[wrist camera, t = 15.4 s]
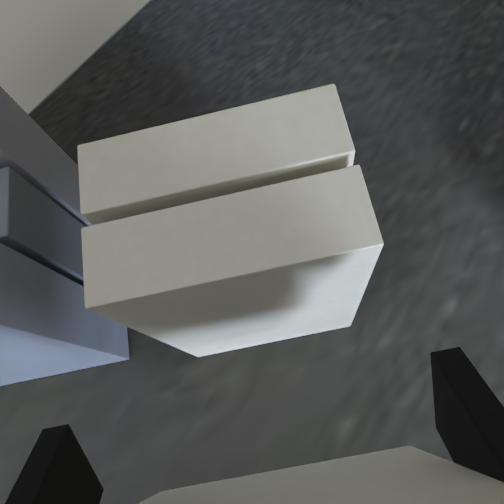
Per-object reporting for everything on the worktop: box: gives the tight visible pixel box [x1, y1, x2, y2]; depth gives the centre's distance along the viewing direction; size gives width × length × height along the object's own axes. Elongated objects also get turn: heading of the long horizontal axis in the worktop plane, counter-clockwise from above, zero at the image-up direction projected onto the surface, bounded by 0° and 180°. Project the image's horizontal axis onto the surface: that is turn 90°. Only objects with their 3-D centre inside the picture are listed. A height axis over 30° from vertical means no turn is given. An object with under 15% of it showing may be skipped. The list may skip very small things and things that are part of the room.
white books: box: [77, 84, 384, 357], centre depth 23 cm, size 6×10×15 cm, turn 100°
